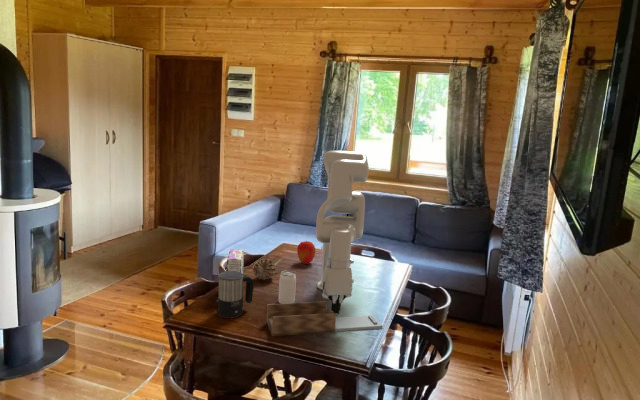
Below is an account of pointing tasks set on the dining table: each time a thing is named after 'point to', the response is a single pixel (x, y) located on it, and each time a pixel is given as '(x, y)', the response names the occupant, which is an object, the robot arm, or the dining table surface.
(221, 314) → the milk frother
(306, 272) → the dining table surface
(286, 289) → the can
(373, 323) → the cover plate
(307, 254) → the apple
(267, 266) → the pine cone
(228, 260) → the candy box
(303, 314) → the walnut box
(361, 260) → the dining table surface
